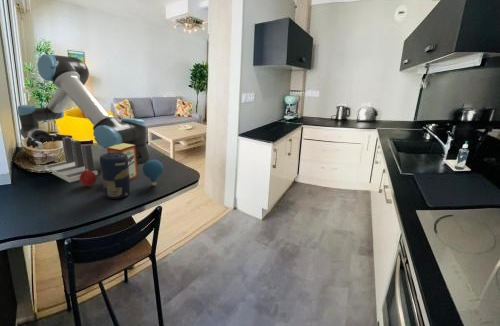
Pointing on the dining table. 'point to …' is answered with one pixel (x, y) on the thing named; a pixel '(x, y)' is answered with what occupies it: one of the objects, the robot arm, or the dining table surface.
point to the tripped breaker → (68, 149)
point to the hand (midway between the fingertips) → (58, 143)
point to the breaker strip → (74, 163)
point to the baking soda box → (131, 154)
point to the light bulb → (153, 170)
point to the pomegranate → (88, 178)
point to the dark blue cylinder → (115, 175)
